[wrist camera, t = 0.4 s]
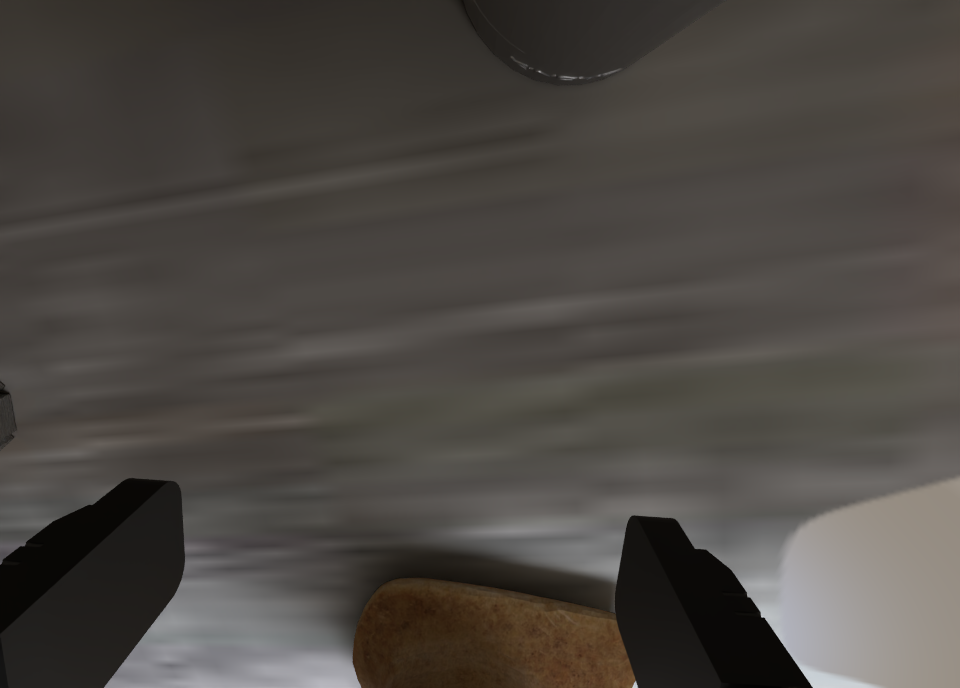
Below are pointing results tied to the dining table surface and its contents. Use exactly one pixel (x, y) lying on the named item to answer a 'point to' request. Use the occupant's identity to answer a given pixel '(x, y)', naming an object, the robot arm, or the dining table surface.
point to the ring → (6, 419)
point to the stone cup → (484, 640)
